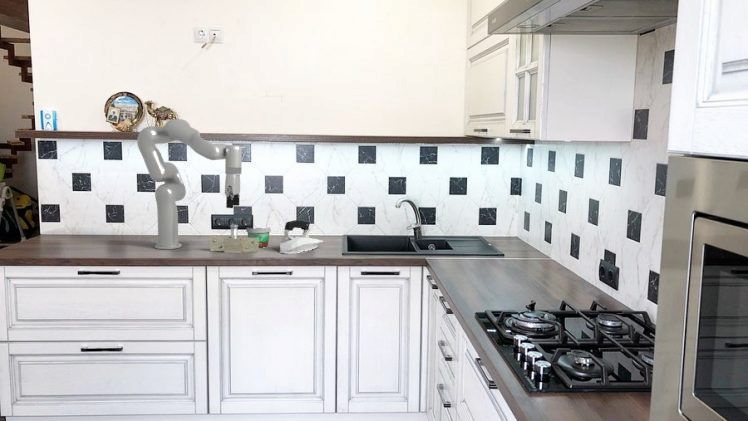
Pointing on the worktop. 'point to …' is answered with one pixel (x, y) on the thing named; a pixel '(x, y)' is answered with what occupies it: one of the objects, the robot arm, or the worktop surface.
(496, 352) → the worktop surface
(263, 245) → the food container
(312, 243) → the iron
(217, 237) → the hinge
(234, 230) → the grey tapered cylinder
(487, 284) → the worktop surface
